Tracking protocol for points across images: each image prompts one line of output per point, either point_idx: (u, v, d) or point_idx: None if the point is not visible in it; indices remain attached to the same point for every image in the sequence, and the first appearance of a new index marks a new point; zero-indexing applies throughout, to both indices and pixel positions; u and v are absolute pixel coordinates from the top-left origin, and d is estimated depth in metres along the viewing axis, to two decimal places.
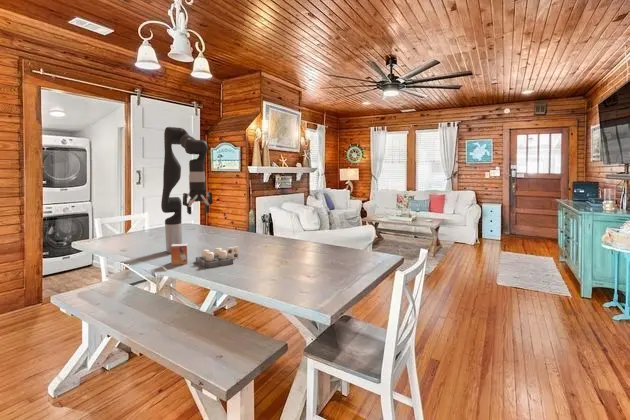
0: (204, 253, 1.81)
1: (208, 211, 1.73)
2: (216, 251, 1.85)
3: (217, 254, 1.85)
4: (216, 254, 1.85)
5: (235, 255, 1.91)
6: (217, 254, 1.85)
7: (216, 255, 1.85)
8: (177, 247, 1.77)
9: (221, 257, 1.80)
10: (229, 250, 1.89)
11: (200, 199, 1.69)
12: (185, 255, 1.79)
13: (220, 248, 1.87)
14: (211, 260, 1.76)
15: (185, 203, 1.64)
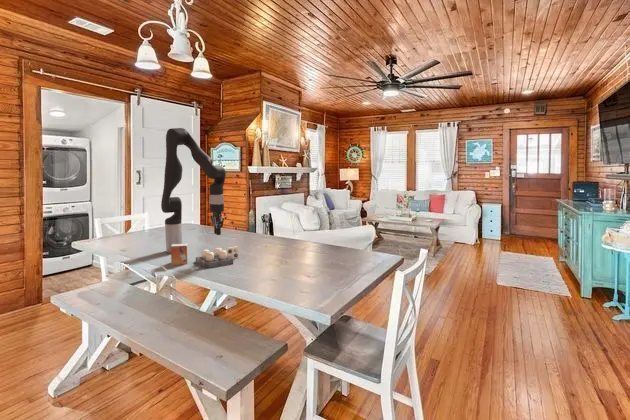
0: (204, 253, 1.81)
1: None
2: (216, 251, 1.85)
3: (217, 254, 1.85)
4: (216, 254, 1.85)
5: (235, 255, 1.91)
6: (217, 254, 1.85)
7: (216, 255, 1.85)
8: (177, 247, 1.77)
9: (221, 257, 1.80)
10: (229, 250, 1.89)
11: None
12: (185, 255, 1.79)
13: (220, 248, 1.87)
14: (211, 260, 1.76)
15: None
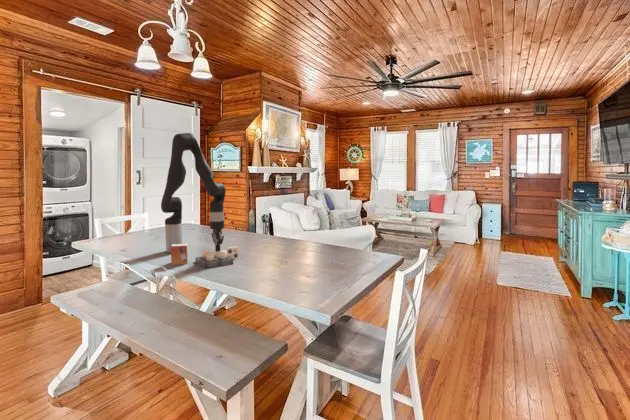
0: (204, 253, 1.81)
1: None
2: (216, 253, 1.85)
3: (217, 256, 1.85)
4: (216, 256, 1.85)
5: (235, 255, 1.91)
6: None
7: None
8: (177, 247, 1.77)
9: (221, 257, 1.80)
10: (229, 250, 1.89)
11: None
12: (185, 255, 1.79)
13: (220, 250, 1.87)
14: (211, 260, 1.76)
15: None
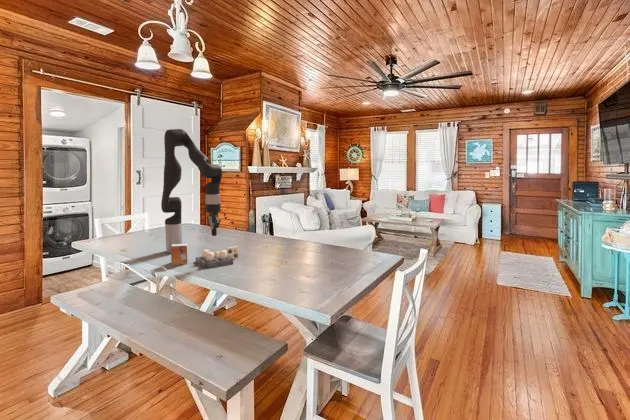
0: (204, 253, 1.81)
1: None
2: (216, 254, 1.85)
3: None
4: None
5: (235, 255, 1.91)
6: None
7: None
8: (177, 247, 1.77)
9: (221, 257, 1.80)
10: (229, 250, 1.89)
11: None
12: (185, 255, 1.79)
13: None
14: (211, 260, 1.76)
15: None
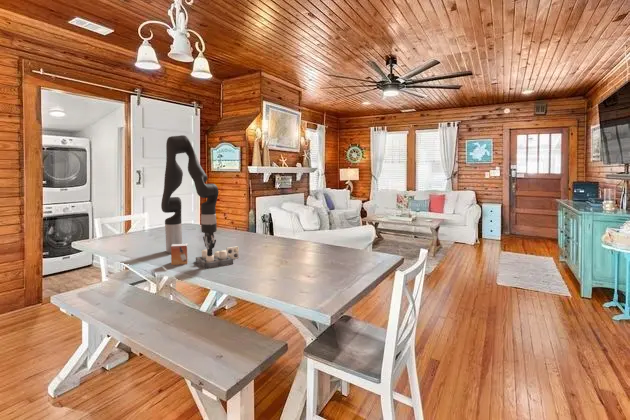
0: (204, 253, 1.81)
1: None
2: (216, 254, 1.85)
3: None
4: None
5: (235, 255, 1.91)
6: None
7: None
8: (177, 247, 1.77)
9: (221, 257, 1.80)
10: (229, 250, 1.89)
11: None
12: (185, 255, 1.79)
13: None
14: None
15: None
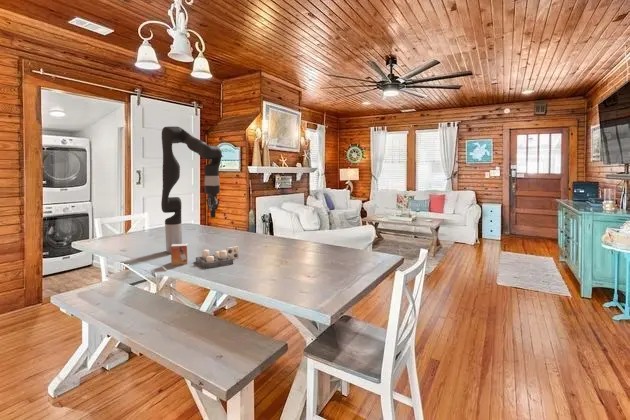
0: (204, 253, 1.81)
1: None
2: (216, 254, 1.85)
3: None
4: None
5: (235, 255, 1.91)
6: None
7: None
8: (177, 247, 1.77)
9: (221, 257, 1.80)
10: (229, 250, 1.89)
11: None
12: (185, 255, 1.79)
13: None
14: None
15: None
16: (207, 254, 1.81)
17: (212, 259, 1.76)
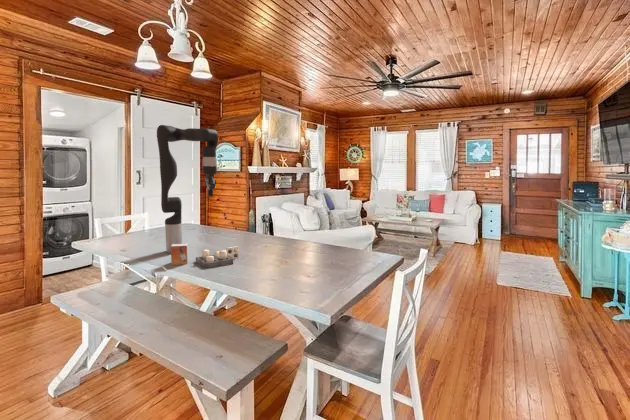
0: (204, 253, 1.81)
1: None
2: (216, 254, 1.85)
3: None
4: None
5: (235, 255, 1.91)
6: None
7: None
8: (177, 247, 1.77)
9: (221, 257, 1.80)
10: (229, 250, 1.89)
11: None
12: (185, 255, 1.79)
13: None
14: None
15: None
16: (207, 254, 1.81)
17: (212, 259, 1.76)
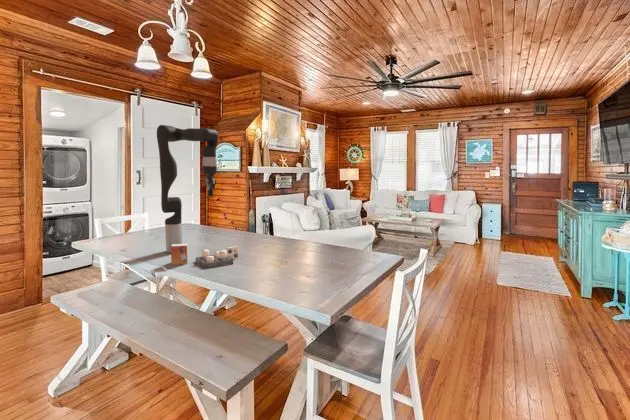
0: (204, 253, 1.81)
1: None
2: (216, 254, 1.85)
3: None
4: None
5: (235, 255, 1.91)
6: None
7: None
8: (177, 247, 1.77)
9: (221, 257, 1.80)
10: (229, 250, 1.89)
11: None
12: (185, 255, 1.79)
13: None
14: None
15: None
16: (207, 254, 1.81)
17: (212, 259, 1.76)
